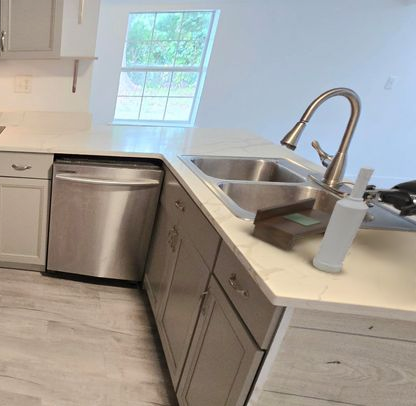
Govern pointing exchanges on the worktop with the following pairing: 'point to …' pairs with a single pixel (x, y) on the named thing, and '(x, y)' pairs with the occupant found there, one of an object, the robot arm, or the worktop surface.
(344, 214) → the bottle
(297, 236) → the shelf
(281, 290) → the worktop surface
